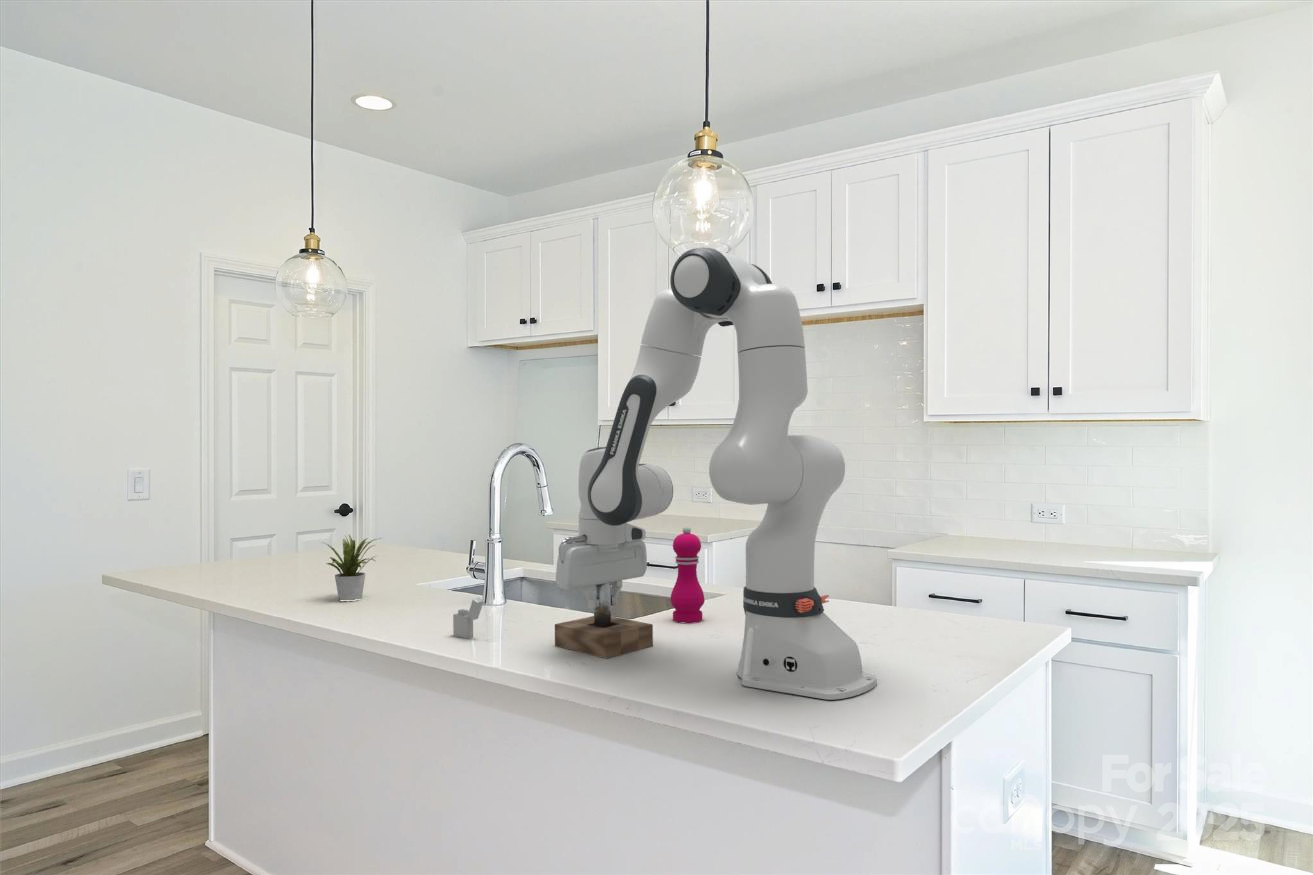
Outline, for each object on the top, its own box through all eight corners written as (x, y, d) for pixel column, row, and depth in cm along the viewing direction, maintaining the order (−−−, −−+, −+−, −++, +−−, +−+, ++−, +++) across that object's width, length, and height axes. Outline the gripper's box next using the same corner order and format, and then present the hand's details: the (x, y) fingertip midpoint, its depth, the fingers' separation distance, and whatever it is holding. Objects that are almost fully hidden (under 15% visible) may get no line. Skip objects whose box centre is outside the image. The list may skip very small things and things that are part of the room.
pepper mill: (705, 616, 185) (704, 524, 185) (704, 624, 178) (703, 527, 178) (672, 616, 186) (671, 524, 186) (669, 623, 179) (668, 527, 179)
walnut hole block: (652, 645, 160) (652, 624, 160) (605, 658, 151) (605, 635, 151) (602, 634, 170) (601, 614, 170) (554, 645, 161) (554, 624, 161)
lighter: (452, 636, 170) (452, 595, 170) (459, 634, 171) (459, 594, 171) (477, 640, 166) (477, 599, 166) (484, 638, 167) (484, 597, 167)
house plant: (398, 598, 211) (397, 531, 211) (351, 607, 199) (350, 537, 199) (359, 592, 218) (359, 528, 218) (312, 602, 207) (311, 534, 207)
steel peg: (614, 625, 161) (614, 572, 161) (602, 628, 159) (601, 574, 159) (603, 622, 163) (602, 570, 163) (590, 625, 161) (590, 572, 161)
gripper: (570, 539, 151) (571, 618, 151) (651, 529, 166) (652, 600, 166) (548, 536, 155) (548, 612, 156) (629, 527, 170) (629, 596, 170)
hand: (602, 606), depth 161 cm, fingers closed on steel peg, 3 cm apart
